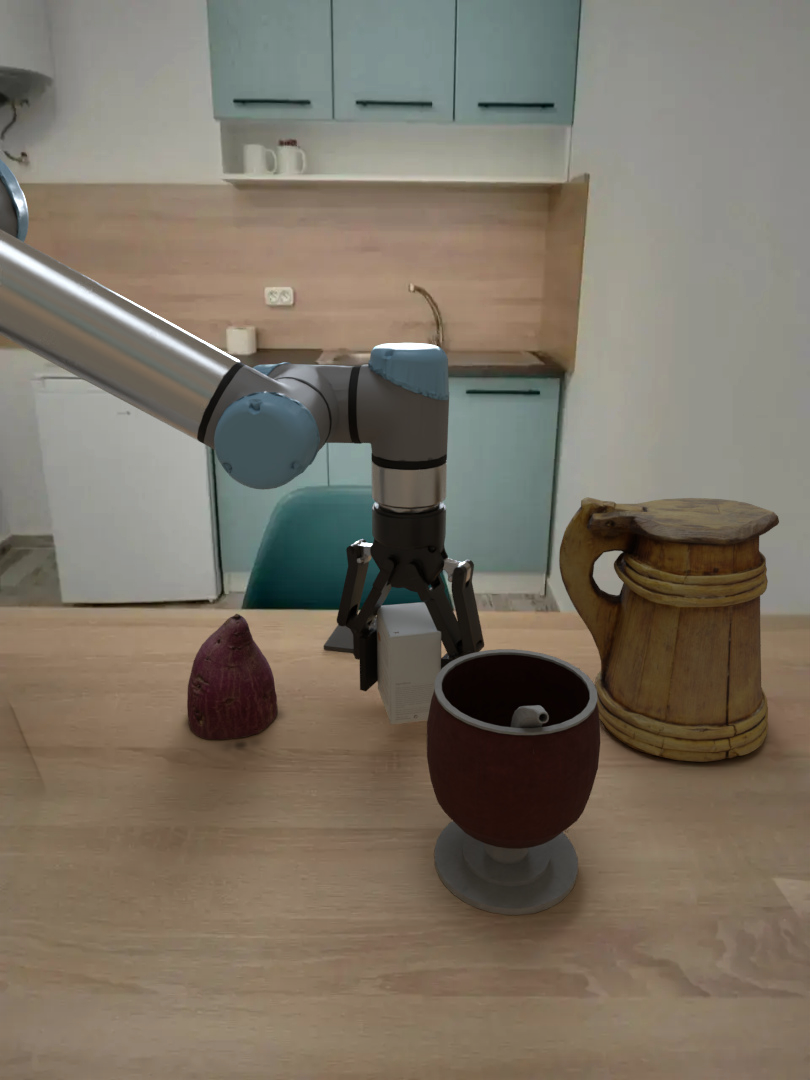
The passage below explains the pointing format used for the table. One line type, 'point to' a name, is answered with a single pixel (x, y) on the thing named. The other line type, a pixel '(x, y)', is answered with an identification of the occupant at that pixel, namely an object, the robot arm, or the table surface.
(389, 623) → the small box
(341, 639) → the slate coaster
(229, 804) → the table surface
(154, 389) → the robot arm
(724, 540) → the tankard
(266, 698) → the vegetable
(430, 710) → the mate gourd
